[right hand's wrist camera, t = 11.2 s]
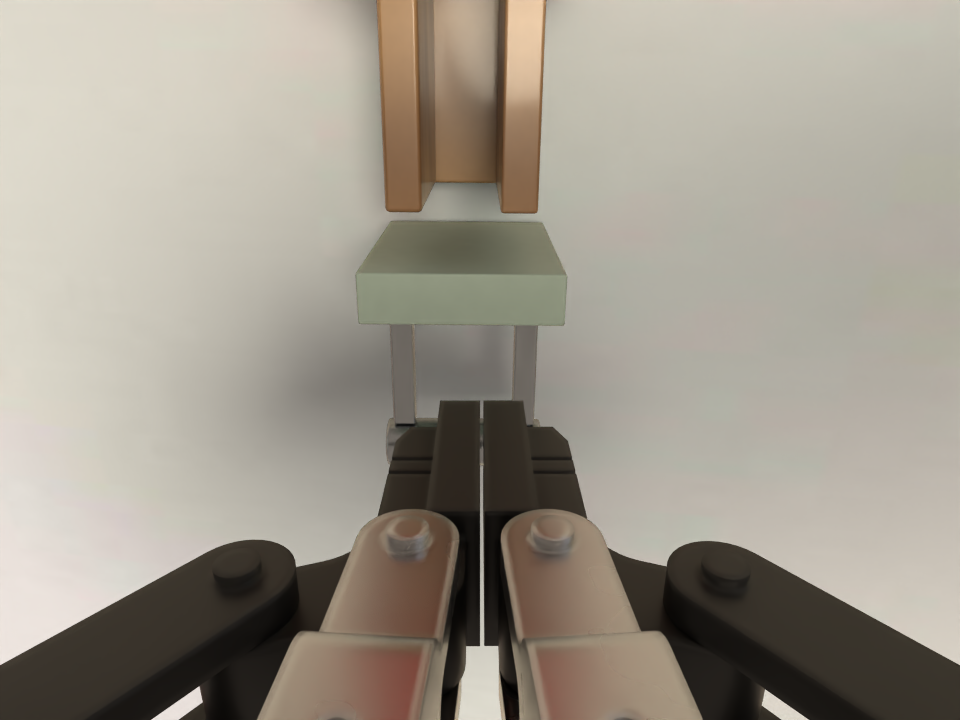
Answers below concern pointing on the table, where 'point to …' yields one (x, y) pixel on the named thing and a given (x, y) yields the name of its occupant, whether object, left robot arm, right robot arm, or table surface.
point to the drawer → (461, 159)
